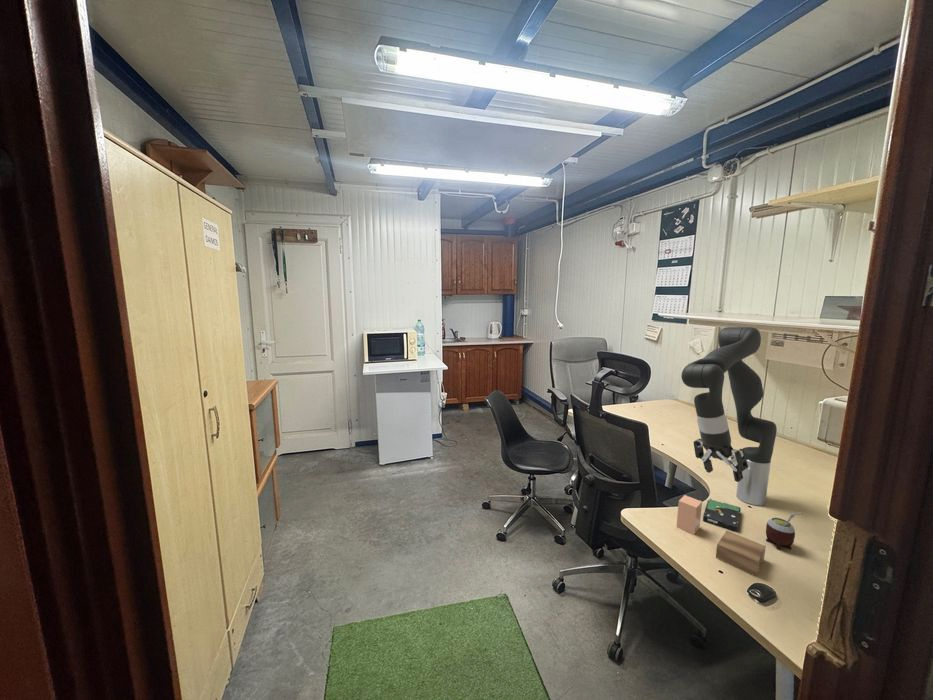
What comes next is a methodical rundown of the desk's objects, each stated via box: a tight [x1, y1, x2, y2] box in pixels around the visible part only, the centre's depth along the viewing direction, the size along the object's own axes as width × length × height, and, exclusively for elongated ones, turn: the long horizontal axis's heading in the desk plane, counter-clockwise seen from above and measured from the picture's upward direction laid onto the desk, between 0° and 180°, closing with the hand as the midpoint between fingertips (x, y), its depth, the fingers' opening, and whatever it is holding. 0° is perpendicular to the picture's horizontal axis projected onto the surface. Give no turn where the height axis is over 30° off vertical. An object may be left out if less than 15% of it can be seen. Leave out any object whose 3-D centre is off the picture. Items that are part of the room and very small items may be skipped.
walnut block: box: [715, 530, 766, 577], centre depth 111 cm, size 10×10×5 cm
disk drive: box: [702, 498, 742, 533], centre depth 133 cm, size 10×3×15 cm
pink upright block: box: [676, 494, 703, 536], centre depth 126 cm, size 6×6×10 cm
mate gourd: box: [765, 512, 804, 551], centre depth 116 cm, size 8×8×15 cm
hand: (723, 475), depth 111 cm, fingers open, 8 cm apart
